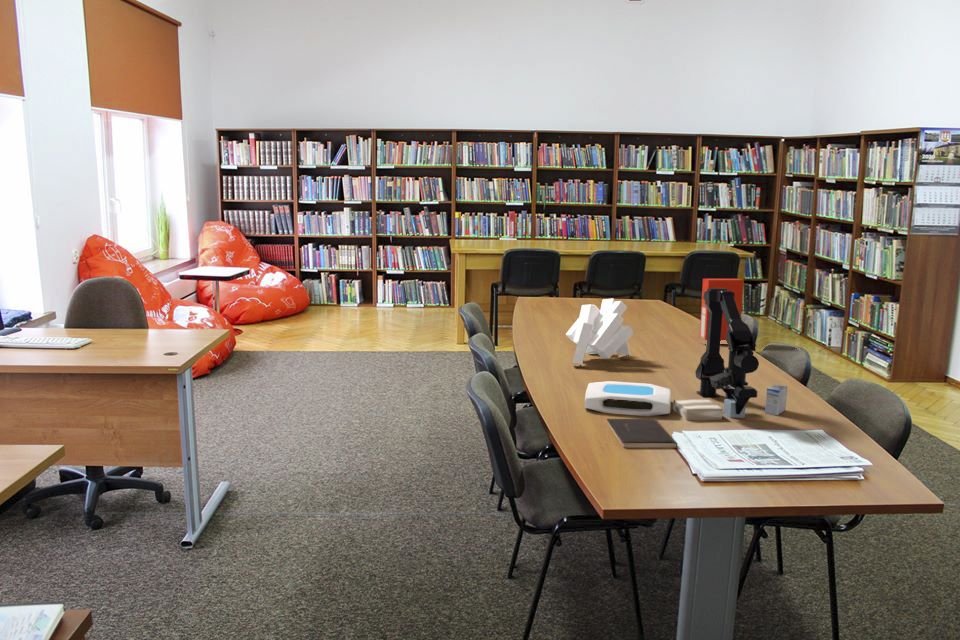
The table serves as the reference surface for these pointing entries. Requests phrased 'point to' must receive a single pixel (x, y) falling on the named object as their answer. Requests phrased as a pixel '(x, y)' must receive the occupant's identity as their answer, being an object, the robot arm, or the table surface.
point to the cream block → (697, 409)
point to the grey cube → (732, 409)
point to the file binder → (737, 288)
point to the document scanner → (628, 397)
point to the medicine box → (776, 399)
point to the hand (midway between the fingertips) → (734, 411)
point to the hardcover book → (641, 433)
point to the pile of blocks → (600, 331)
